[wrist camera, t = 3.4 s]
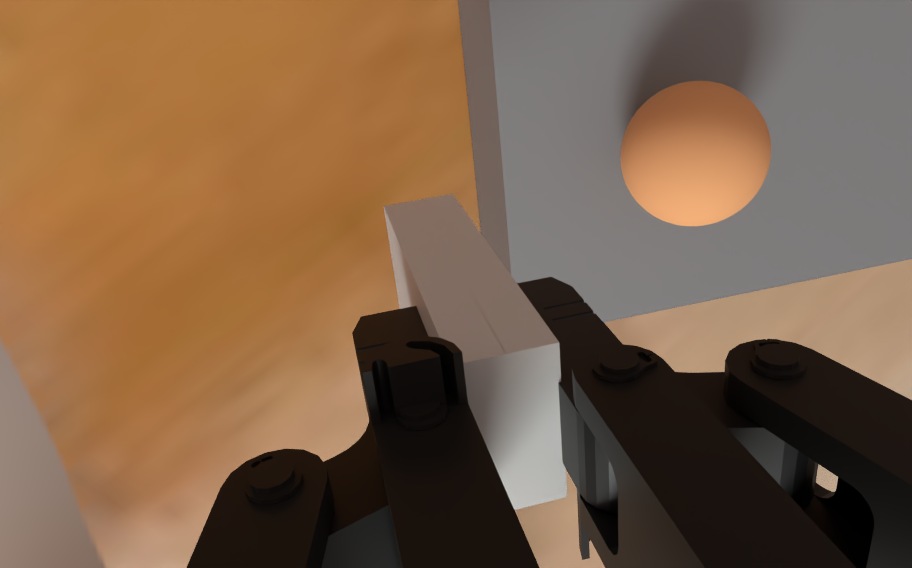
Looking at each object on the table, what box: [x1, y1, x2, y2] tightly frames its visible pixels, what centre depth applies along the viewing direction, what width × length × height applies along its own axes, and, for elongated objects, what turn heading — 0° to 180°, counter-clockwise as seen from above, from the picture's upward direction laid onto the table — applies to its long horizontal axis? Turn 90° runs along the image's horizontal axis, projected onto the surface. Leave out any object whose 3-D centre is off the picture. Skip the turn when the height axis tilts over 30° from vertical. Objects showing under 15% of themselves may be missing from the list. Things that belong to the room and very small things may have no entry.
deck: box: [458, 0, 912, 322], centre depth 25 cm, size 16×12×4 cm
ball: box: [620, 81, 771, 226], centre depth 21 cm, size 4×4×4 cm
